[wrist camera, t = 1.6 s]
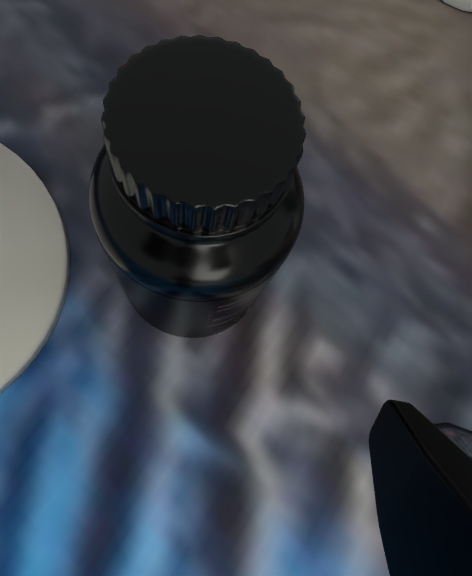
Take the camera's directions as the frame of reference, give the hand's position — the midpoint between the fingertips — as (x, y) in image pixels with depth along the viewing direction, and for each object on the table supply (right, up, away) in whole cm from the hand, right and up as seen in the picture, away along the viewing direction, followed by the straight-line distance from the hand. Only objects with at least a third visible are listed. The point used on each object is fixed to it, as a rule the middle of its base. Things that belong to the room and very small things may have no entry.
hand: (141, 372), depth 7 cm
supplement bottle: (0, +2, +14) cm, 14 cm away
